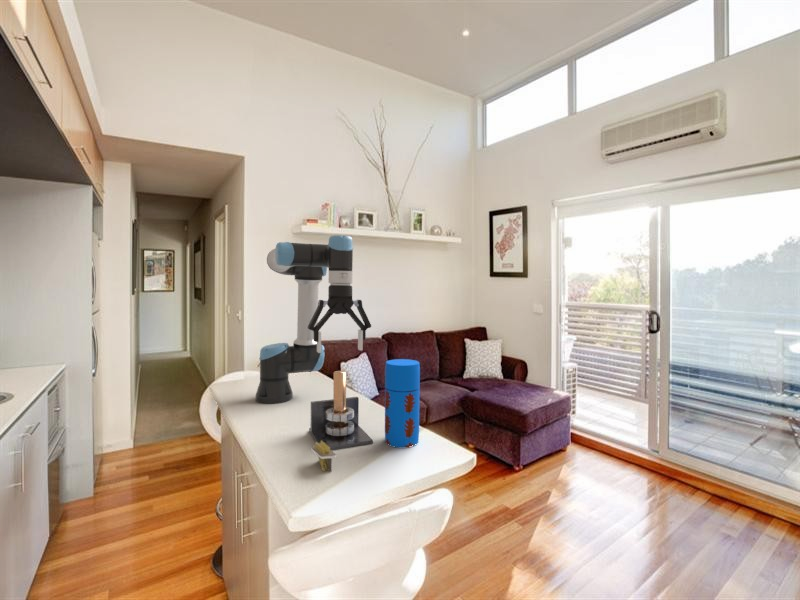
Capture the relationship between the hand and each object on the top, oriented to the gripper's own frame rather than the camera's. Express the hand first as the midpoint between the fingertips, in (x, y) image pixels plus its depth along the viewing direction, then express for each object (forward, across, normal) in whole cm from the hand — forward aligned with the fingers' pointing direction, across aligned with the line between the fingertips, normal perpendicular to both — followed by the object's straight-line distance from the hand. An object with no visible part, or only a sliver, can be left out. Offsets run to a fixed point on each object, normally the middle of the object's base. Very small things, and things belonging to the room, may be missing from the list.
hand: (340, 351), depth 128 cm
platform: (+28, -10, -19) cm, 36 cm away
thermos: (+28, +17, -11) cm, 35 cm away
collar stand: (+28, 0, 0) cm, 28 cm away
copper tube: (+27, 0, 0) cm, 27 cm away
